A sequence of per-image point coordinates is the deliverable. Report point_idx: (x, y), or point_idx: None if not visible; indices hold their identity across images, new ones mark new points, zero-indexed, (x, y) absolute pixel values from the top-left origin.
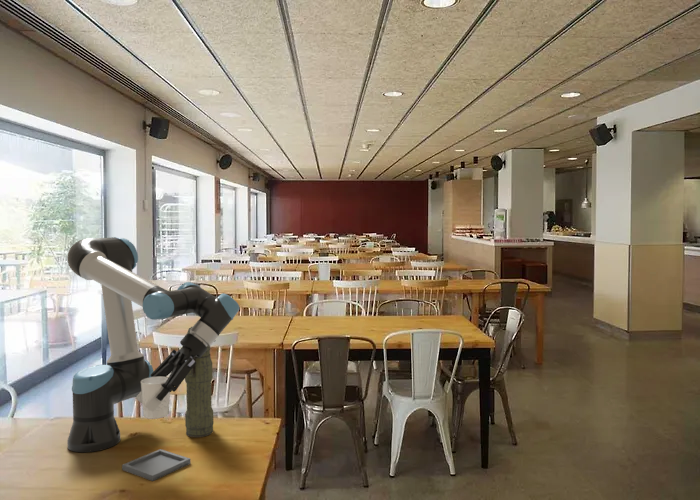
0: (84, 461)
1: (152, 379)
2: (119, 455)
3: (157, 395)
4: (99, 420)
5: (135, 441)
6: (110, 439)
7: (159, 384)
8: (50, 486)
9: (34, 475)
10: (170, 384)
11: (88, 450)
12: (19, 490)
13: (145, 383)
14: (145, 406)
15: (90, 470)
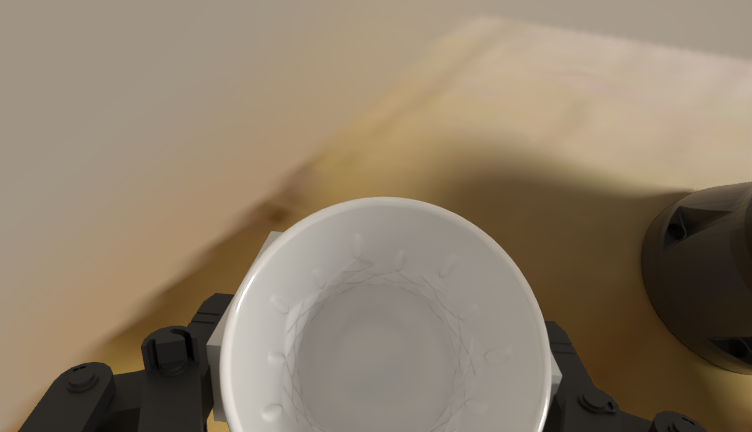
0: (573, 203)
1: (531, 377)
2: (559, 306)
3: None
4: (749, 247)
5: (674, 411)
6: (675, 304)
7: (227, 324)
8: (447, 90)
9: (549, 80)
10: (48, 391)
11: (649, 232)
12: (473, 37)
13: (498, 292)
14: (272, 232)
15: (488, 195)
